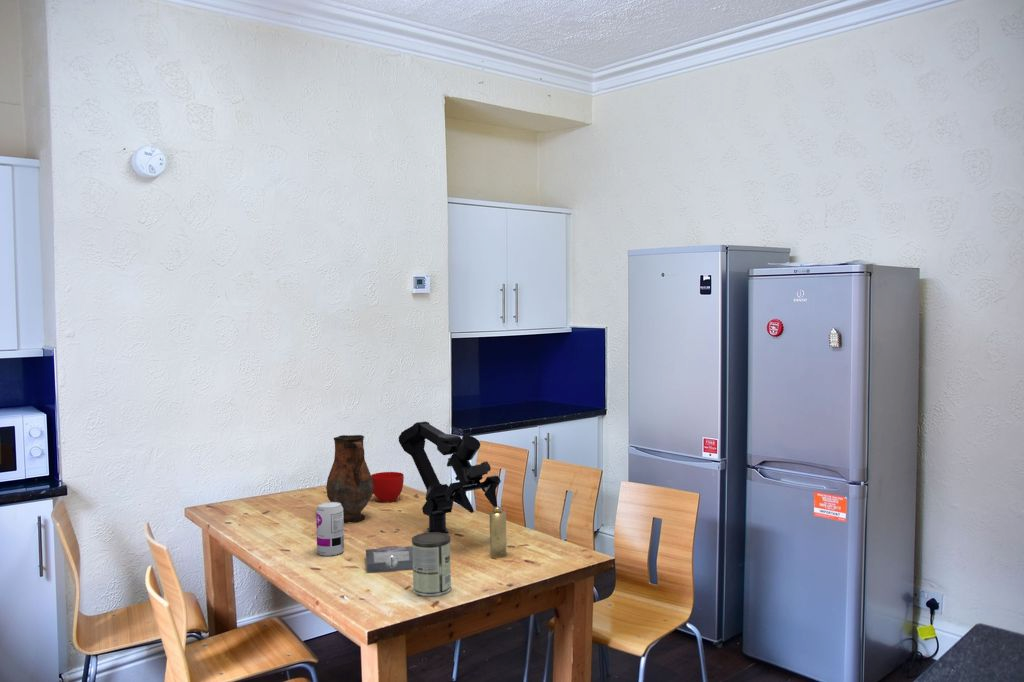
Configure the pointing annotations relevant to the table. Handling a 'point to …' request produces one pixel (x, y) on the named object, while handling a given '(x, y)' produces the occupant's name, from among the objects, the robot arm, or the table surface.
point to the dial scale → (389, 559)
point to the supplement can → (330, 528)
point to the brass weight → (497, 532)
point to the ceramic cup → (387, 485)
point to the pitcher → (350, 477)
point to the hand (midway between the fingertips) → (484, 509)
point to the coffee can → (431, 564)
